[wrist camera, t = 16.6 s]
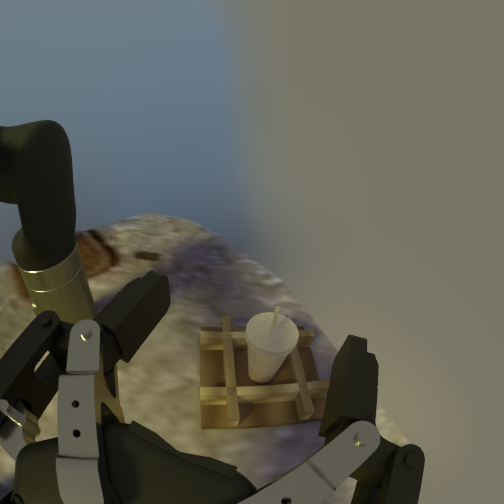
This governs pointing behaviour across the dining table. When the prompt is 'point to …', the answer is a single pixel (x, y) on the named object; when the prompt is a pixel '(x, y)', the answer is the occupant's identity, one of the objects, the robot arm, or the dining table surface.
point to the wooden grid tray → (256, 394)
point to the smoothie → (269, 343)
